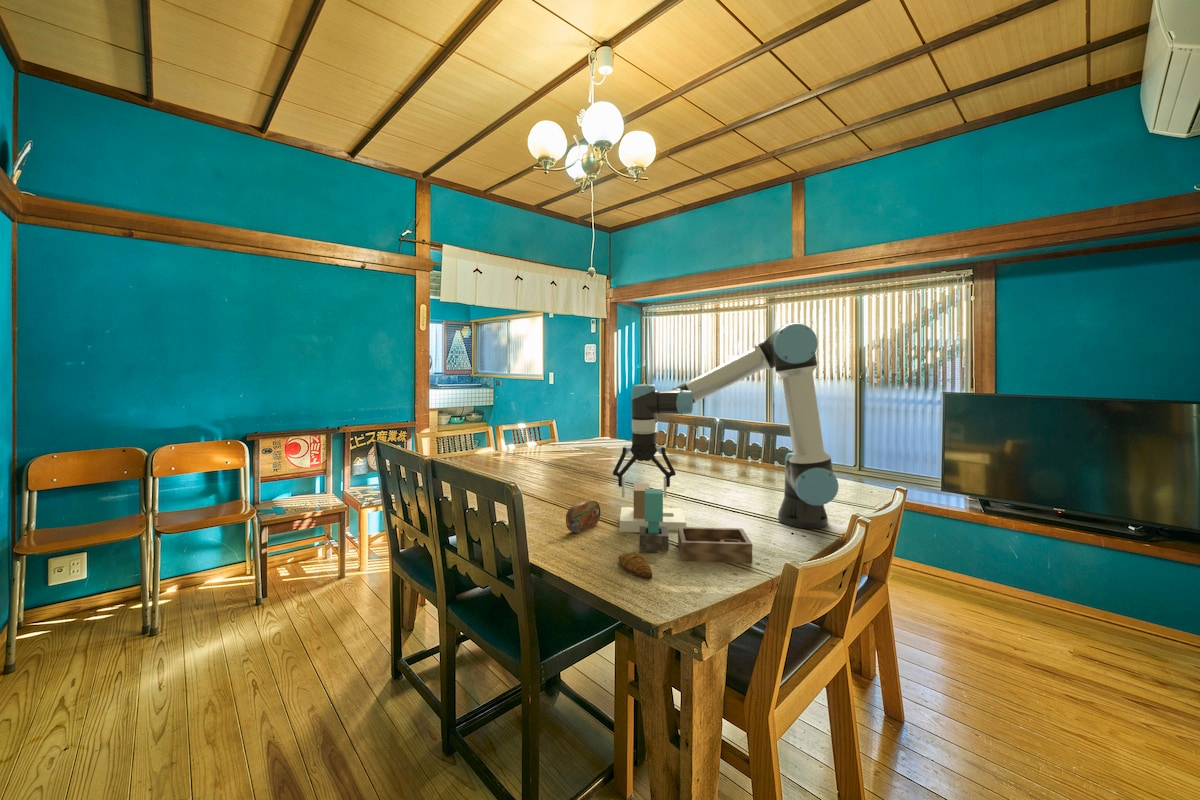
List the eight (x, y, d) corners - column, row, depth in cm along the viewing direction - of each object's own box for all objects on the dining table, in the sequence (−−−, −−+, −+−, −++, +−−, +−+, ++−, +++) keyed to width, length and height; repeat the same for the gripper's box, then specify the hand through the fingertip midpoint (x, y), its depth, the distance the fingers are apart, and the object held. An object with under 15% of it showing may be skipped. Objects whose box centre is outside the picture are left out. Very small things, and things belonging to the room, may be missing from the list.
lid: (682, 518, 163) (682, 482, 162) (686, 533, 148) (686, 493, 147) (621, 517, 164) (621, 481, 164) (619, 531, 150) (619, 492, 149)
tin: (571, 536, 146) (571, 509, 146) (564, 534, 148) (563, 507, 148) (601, 523, 158) (601, 498, 158) (593, 521, 160) (593, 496, 160)
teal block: (661, 541, 139) (662, 489, 138) (662, 548, 134) (662, 493, 133) (644, 541, 139) (644, 488, 138) (644, 547, 134) (644, 493, 133)
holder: (666, 543, 140) (666, 526, 140) (668, 553, 132) (668, 536, 132) (639, 542, 141) (639, 525, 140) (639, 553, 133) (639, 535, 132)
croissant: (609, 564, 126) (608, 546, 125) (630, 559, 129) (630, 541, 129) (638, 584, 114) (638, 564, 114) (661, 578, 117) (661, 558, 117)
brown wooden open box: (742, 549, 135) (742, 528, 135) (751, 566, 123) (752, 544, 123) (677, 547, 137) (678, 526, 136) (681, 564, 125) (681, 542, 125)
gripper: (681, 430, 157) (681, 493, 159) (605, 430, 159) (606, 493, 161) (683, 433, 150) (683, 500, 151) (604, 433, 152) (605, 499, 153)
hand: (644, 496), depth 156 cm, fingers open, 13 cm apart
